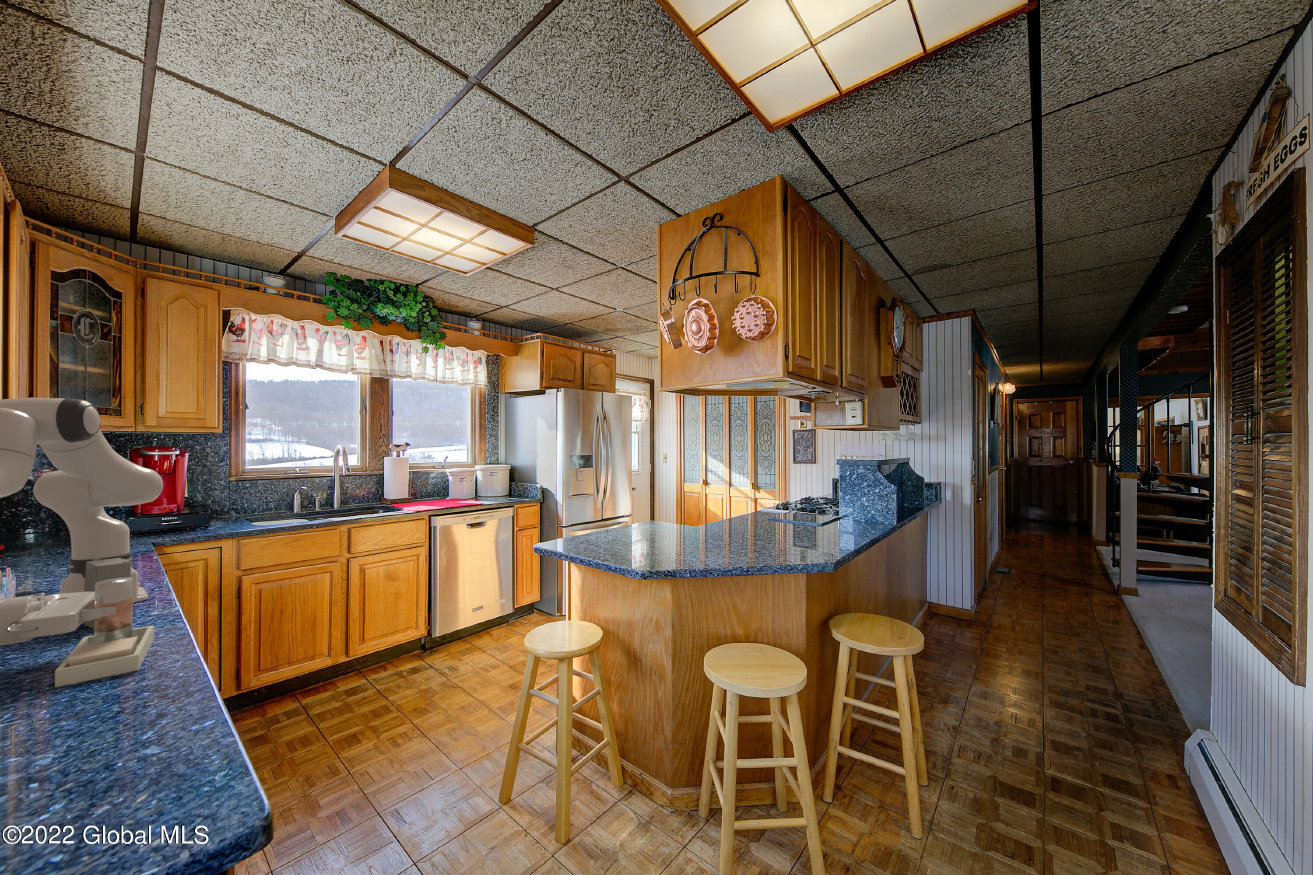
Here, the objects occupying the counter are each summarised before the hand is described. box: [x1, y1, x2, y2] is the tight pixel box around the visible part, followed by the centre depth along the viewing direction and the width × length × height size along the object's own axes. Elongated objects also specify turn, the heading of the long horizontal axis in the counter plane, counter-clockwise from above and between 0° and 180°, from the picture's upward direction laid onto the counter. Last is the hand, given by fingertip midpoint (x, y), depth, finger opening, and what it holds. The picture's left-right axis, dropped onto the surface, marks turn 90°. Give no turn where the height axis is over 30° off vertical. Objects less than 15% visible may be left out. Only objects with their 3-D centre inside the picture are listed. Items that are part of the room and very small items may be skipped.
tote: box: [54, 624, 155, 688], centre depth 104 cm, size 21×11×4 cm, turn 39°
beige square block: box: [68, 636, 138, 667], centre depth 101 cm, size 8×8×4 cm
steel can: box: [93, 578, 134, 644], centre depth 108 cm, size 6×6×14 cm
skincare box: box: [81, 558, 132, 629], centre depth 129 cm, size 8×7×16 cm
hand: (119, 605), depth 108 cm, fingers closed on steel can, 6 cm apart
